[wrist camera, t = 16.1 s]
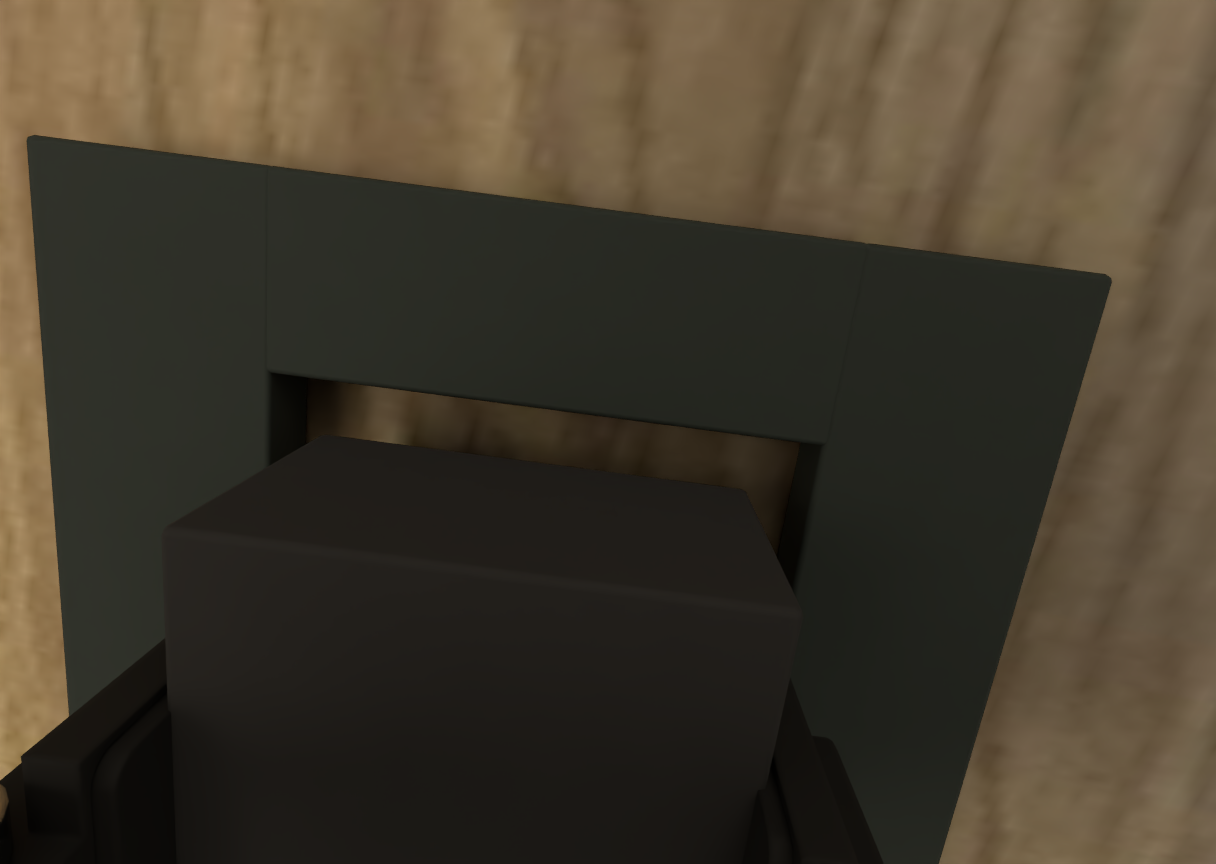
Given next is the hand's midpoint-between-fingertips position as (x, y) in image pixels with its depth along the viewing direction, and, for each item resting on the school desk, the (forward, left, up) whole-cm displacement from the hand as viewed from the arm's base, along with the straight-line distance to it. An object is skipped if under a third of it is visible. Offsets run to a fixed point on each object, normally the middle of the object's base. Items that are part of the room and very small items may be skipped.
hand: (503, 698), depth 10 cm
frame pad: (0, 0, -2) cm, 2 cm away
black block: (0, 0, -1) cm, 1 cm away
